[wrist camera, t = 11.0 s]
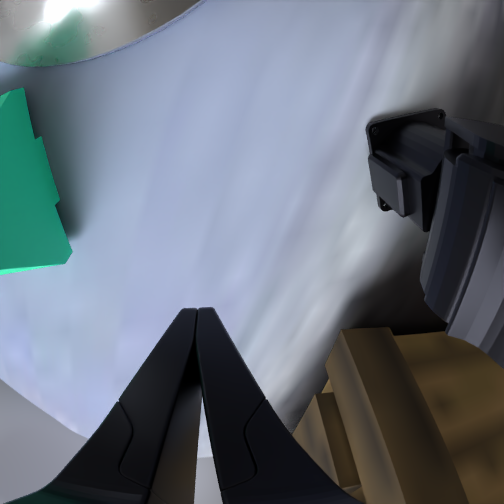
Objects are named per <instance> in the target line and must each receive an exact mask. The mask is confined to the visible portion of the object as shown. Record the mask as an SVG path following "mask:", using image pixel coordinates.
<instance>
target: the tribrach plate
mask: <svg viewBox="0 0 504 504" xmlns="http://www.w3.org/2000/svg"><path fill="white" fill-rule="evenodd" d="M205 1H206V0H0V61H1V62H5V63H8V64H11V65H19V66H26V67H33V66H56V65H64V64H73V63H77V62H81V61H86V60H90V59H95V58H98V57H101V56H104V55H107V54H110V53H113V52H116V51H119V50H121V49H123V48H126V47H128V46H130V45H133V44H135V43H138V42H140V41H142V40H144V39H146V38H148V37H149V36H151V35H153V34H155V33H157V32H159V31H162V30H163V29H165V28H166V27H168V26H170V25H171V24H173V23H175V22H176V21H178V20H180V19H181V18H183V17H184V16H186V15H187V14H189V13H190V12H191V11H193V10H194V9H196V8H197V7H198V6H200V5H201V4H203V3H204V2H205Z"/></svg>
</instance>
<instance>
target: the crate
mask: <svg viewBox="0 0 504 504" xmlns="http://www.w3.org/2000/svg"><path fill="white" fill-rule="evenodd" d="M325 367H326V371H327V374H328V377H329V379H328V381H327V383H326V385H325V387H324V389H323V391H322V393H318V394H315V395H314V397H313V398H312V400H311V402H310V404H309V406H308V408H307V410H306V411H305V413H304V415H303V417H302V419H301V420H300V422H299V424H298V426H297V428H296V429H295V431H294V433H293V434H292V436H293V437H294V438H295V440H296V441H297V442H298V443H299V444H300V446H301V447H302V448H303V449H304V450H305V451H306V452H307V453H308V454H309V456H310V457H311V458H312V459H313V460H314V461H315V462H316V463H317V464H318V465H319V466H320V467H321V469H322V470H323V471H324V472H325V473H326V474H327V475H328V476H329V477H330V478H331V479H332V480H333V481H334V482H335V483H336V484H337V485H338V486H339V487H341V488H342V489H343V490H344V491H345V492H347V493H348V494H349V495H351V496H352V497H354V498H356V499H357V500H359V501H361V502H363V503H365V504H504V369H503V368H501V367H500V366H499V365H498V364H497V363H496V362H495V361H494V360H493V359H492V358H490V357H489V356H488V355H487V354H486V353H485V352H483V351H482V350H481V349H479V348H478V347H476V346H474V345H472V344H470V343H469V342H467V341H465V340H462V339H458V338H455V337H452V336H449V335H447V334H446V333H445V331H442V332H433V333H423V334H412V335H400V336H393V334H392V332H391V330H390V328H389V327H382V328H360V329H341V331H340V333H339V335H338V337H337V340H336V342H335V344H334V346H333V348H332V351H331V353H330V355H329V357H328V359H327V361H326V364H325Z"/></svg>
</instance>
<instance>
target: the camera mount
mask: <svg viewBox="0 0 504 504" xmlns="http://www.w3.org/2000/svg"><path fill="white" fill-rule="evenodd" d="M59 200H60V198H59V195H58V192H57V188H56V185H55V182H54V179H53V176H52V172H51V169H50V165H49V162H48V158H47V155H46V151H45V147H44V143H43V140H42V136H41V137H38V138H36V139H35V137H34V133H33V129H32V125H31V120H30V116H29V111H28V106H27V101H26V96H25V91H24V88H19V89H15V90H11V91H9V92H7V93H5V94H3V95H1V96H0V275H3V274H9V273H14V272H20V271H26V270H32V269H37V268H43V267H49V266H55V265H61V264H65V263H66V262H67V260H68V258H69V257H70V255H71V254H72V252H73V251H72V249H71V246H70V244H69V242H68V239H67V236H66V234H65V231H64V229H63V226H62V223H61V221H60V218H59V215H58V213H57V210H56V207H55V205H56V204H57V203H58V202H59Z"/></svg>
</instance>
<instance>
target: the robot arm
mask: <svg viewBox="0 0 504 504" xmlns="http://www.w3.org/2000/svg"><path fill="white" fill-rule="evenodd" d="M439 113H440V117H439V118H438V114H439ZM374 127H375V128H376V131H375V133H372V129H373V128H374ZM366 134H367V140H368V145H369V150H370V155H369V157H368V163H369V168H370V174H371V181H372V187H373V191H374V192H375V193H376V194H377V201H378V206H379V208H380V209H381V210H382V211H389V210H392V209H393V210H394V211H396V212H397V213H398V214H399V215H400V216H402V217H406V216H408V217H409V218H410V219H411V220H412V221H413V222H414V223H415V224H416V225H417V226H419V227H420V228H421V229H422V230H423V231H424V232H428V231H430V234H429V238H428V242H427V247H426V251H425V252H424V254H423V258H422V262H423V263H422V267H421V272H420V282H421V285H422V288H423V291H424V293H425V297H424V301H425V302H426V304H427V305H428V306H429V307H430V309H431V310H432V311H433V312H434V313H435V314H436V315H437V316H439V317H440V318H441V319H442V320H443V321H445V322H447V323H448V325H447V328H446V330H445V333H446V334H447V335H449V336H452V337H455V338H458V339H462V340H465V341H467V342H469V343H470V344H472V345H474V346H476V347H478V348H479V349H481V350H482V351H483V352H485V353H486V354H487V355H488V356H489V357H490V358H492V359H493V360H494V361H495V362H496V363H497V364H498V365H499V366H500V367H501V368H503V369H504V126H501V125H497V124H492V123H487V122H481V121H475V120H468V119H462V118H454V117H446V114H445V112H444V110H442V109H439V108H435V109H430V110H424V111H420V112H415V113H410V114H405V115H401V116H396V117H392V118H388V119H383V120H379V121H375V122H371V123H369V124H368V125H367V127H366ZM385 202H386V203H387V204H386V205H385V206H383V205H384V203H385ZM202 397H203V403H204V409H205V415H206V421H207V427H208V432H209V438H210V443H211V449H212V454H213V459H214V464H215V468H216V474H217V478H218V483H219V488H220V491H221V497H222V502H223V504H365V503H363V502H361V501H359V500H357V499H356V498H354V497H352V496H351V495H349V494H348V493H347V492H345V491H344V490H343V489H342V488H341V487H339V486H338V485H337V484H336V483H335V482H334V481H333V480H332V479H331V478H330V477H329V476H328V475H327V474H326V473H325V472H324V471H323V470H322V469H321V467H320V466H319V465H318V464H317V463H316V462H315V461H314V460H313V459H312V458H311V457H310V456H309V454H308V453H307V452H306V451H305V450H304V449H303V448H302V447H301V446H300V444H299V443H298V442H297V441H296V440H295V438H294V437H293V436H292V435H291V434H290V432H289V431H288V430H287V429H286V427H285V426H284V424H283V423H282V422H281V420H280V419H279V417H278V416H277V414H276V413H275V411H274V410H273V408H272V406H271V405H270V403H269V402H268V400H267V399H266V397H265V395H264V394H263V392H262V390H261V389H260V387H259V386H258V384H257V382H256V381H255V379H254V377H253V375H252V374H251V372H250V370H249V369H248V367H247V365H246V364H245V362H244V360H243V359H242V357H241V355H240V353H239V352H238V350H237V348H236V346H235V345H234V343H233V341H232V339H231V338H230V336H229V334H228V332H227V331H226V329H225V327H224V325H223V324H222V322H221V320H220V318H219V316H218V315H217V313H216V311H215V309H214V308H213V307H202V308H199V309H198V310H197V308H183V309H181V311H180V312H179V313H178V315H177V316H176V318H175V319H174V320H173V322H172V323H171V325H170V326H169V327H168V329H167V330H166V332H165V333H164V334H163V336H162V337H161V339H160V340H159V342H158V343H157V344H156V346H155V347H154V349H153V350H152V352H151V353H150V354H149V356H148V357H147V359H146V360H145V362H144V363H143V364H142V366H141V367H140V369H139V370H138V372H137V373H136V375H135V376H134V377H133V379H132V380H131V382H130V383H129V385H128V386H127V388H126V389H125V391H124V392H123V394H122V395H121V396H120V398H119V402H118V401H117V402H116V403H115V405H114V406H113V408H112V409H111V411H110V412H109V414H108V415H107V416H106V418H105V419H104V421H103V422H102V423H101V425H100V426H99V428H98V429H97V430H96V431H95V432H94V434H93V435H92V436H91V437H90V438H89V440H88V441H87V442H86V443H85V445H84V446H83V447H82V448H81V449H80V450H79V451H78V453H77V454H76V455H75V456H74V457H73V458H72V460H71V461H70V462H69V463H68V464H67V465H66V466H65V467H64V469H63V470H62V471H61V472H60V473H59V474H58V475H57V477H55V478H54V479H53V480H52V482H50V483H49V484H47V485H46V486H45V487H43V488H41V489H40V490H38V491H36V492H33V493H31V494H28V495H26V496H23V497H20V498H18V499H15V500H12V501H9V502H6V503H4V504H194V493H195V479H196V464H197V451H198V438H199V426H200V414H201V403H202Z"/></svg>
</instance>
